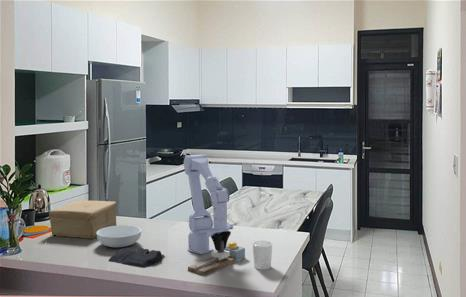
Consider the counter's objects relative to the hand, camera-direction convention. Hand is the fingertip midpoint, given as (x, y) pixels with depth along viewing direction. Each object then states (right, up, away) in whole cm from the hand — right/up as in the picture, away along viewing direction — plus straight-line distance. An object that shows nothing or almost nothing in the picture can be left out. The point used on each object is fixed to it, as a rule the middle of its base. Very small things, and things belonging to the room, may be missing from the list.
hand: (220, 249), depth 200 cm
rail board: (-3, -6, -3) cm, 8 cm away
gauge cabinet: (+5, -5, +7) cm, 10 cm away
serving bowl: (-49, -4, +26) cm, 56 cm away
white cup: (+17, -7, -5) cm, 19 cm away
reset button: (+5, -3, +6) cm, 9 cm away
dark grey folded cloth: (-37, -6, +6) cm, 38 cm away
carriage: (0, -4, 0) cm, 4 cm away
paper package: (-73, -1, +50) cm, 89 cm away
